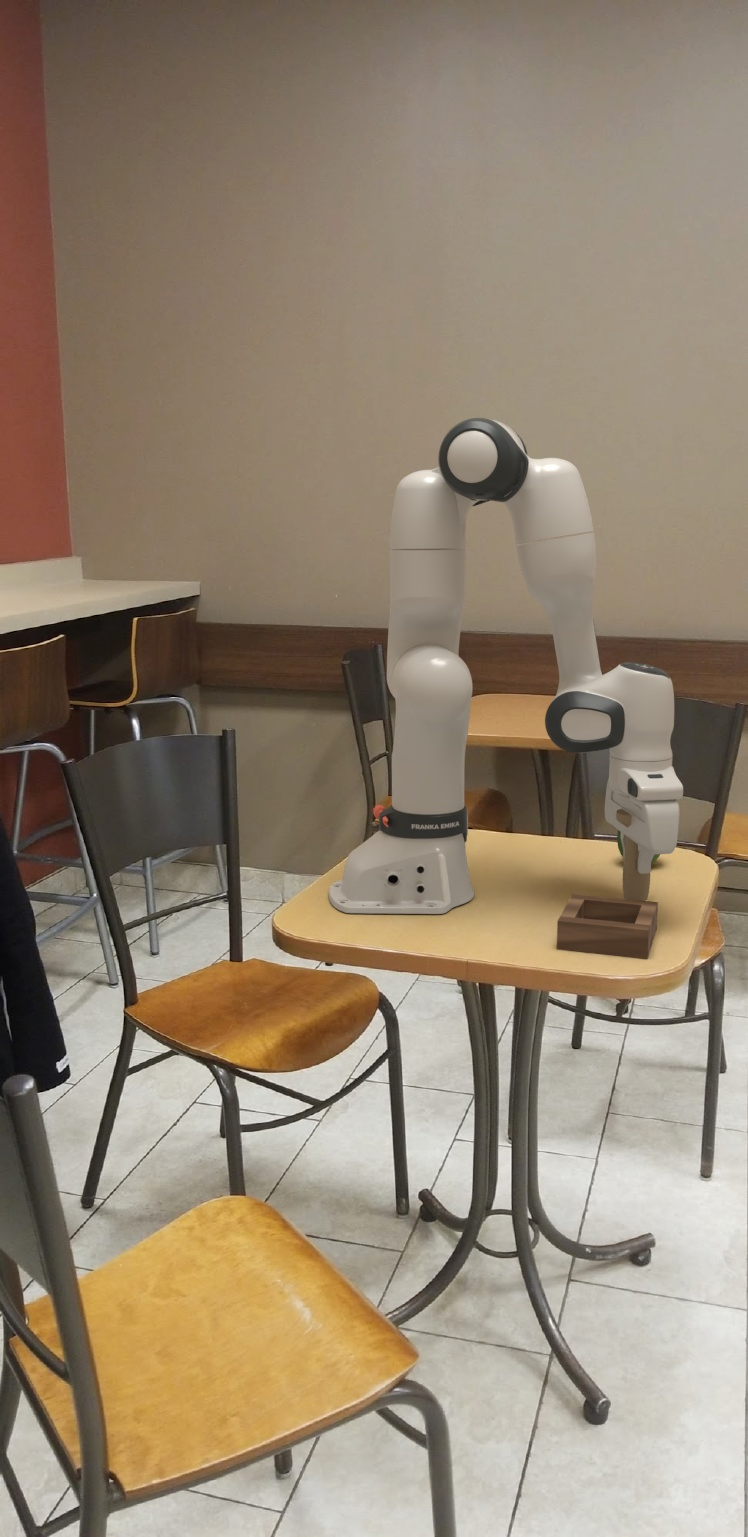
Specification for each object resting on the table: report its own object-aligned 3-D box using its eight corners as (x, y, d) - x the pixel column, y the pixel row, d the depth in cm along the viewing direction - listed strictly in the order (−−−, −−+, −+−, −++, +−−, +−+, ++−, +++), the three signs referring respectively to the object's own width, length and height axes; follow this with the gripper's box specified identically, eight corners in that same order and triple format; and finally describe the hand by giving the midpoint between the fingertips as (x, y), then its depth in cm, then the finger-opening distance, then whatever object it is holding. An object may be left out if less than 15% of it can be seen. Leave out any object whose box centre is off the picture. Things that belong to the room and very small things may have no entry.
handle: (660, 915, 169) (665, 815, 166) (616, 915, 169) (620, 816, 166) (652, 904, 173) (657, 807, 170) (610, 904, 173) (613, 808, 170)
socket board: (647, 958, 152) (648, 930, 151) (556, 948, 156) (557, 920, 155) (656, 929, 163) (657, 902, 162) (571, 920, 167) (572, 894, 166)
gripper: (595, 762, 177) (593, 848, 179) (644, 791, 157) (640, 889, 160) (635, 760, 177) (632, 847, 180) (688, 790, 158) (684, 886, 160)
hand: (636, 867), depth 170 cm, fingers open, 4 cm apart
